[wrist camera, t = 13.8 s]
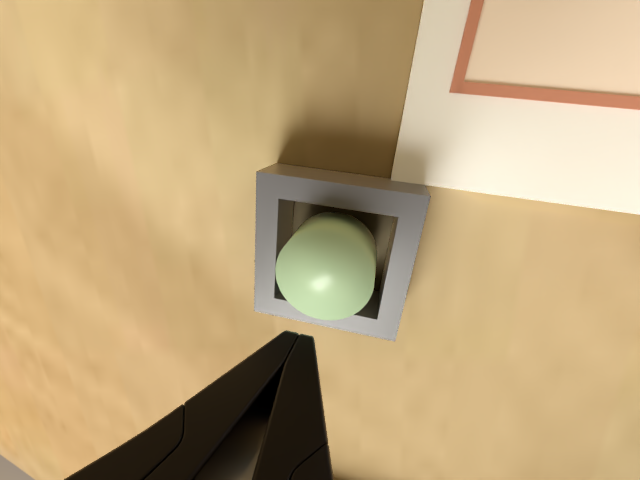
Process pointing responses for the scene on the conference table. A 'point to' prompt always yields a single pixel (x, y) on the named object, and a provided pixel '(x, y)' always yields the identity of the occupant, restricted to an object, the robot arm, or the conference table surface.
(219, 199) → the conference table surface
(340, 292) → the button
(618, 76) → the sheet
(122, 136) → the conference table surface
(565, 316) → the conference table surface
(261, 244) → the button housing
